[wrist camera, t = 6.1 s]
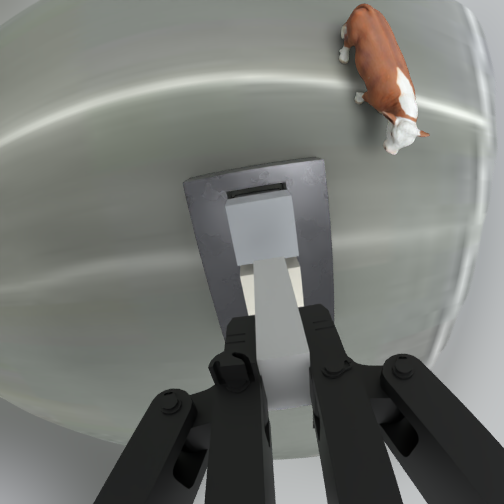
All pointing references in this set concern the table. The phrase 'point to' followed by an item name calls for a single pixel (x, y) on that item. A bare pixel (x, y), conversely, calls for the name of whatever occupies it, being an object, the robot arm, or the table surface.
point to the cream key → (248, 283)
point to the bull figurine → (382, 74)
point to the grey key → (262, 226)
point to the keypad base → (306, 221)
